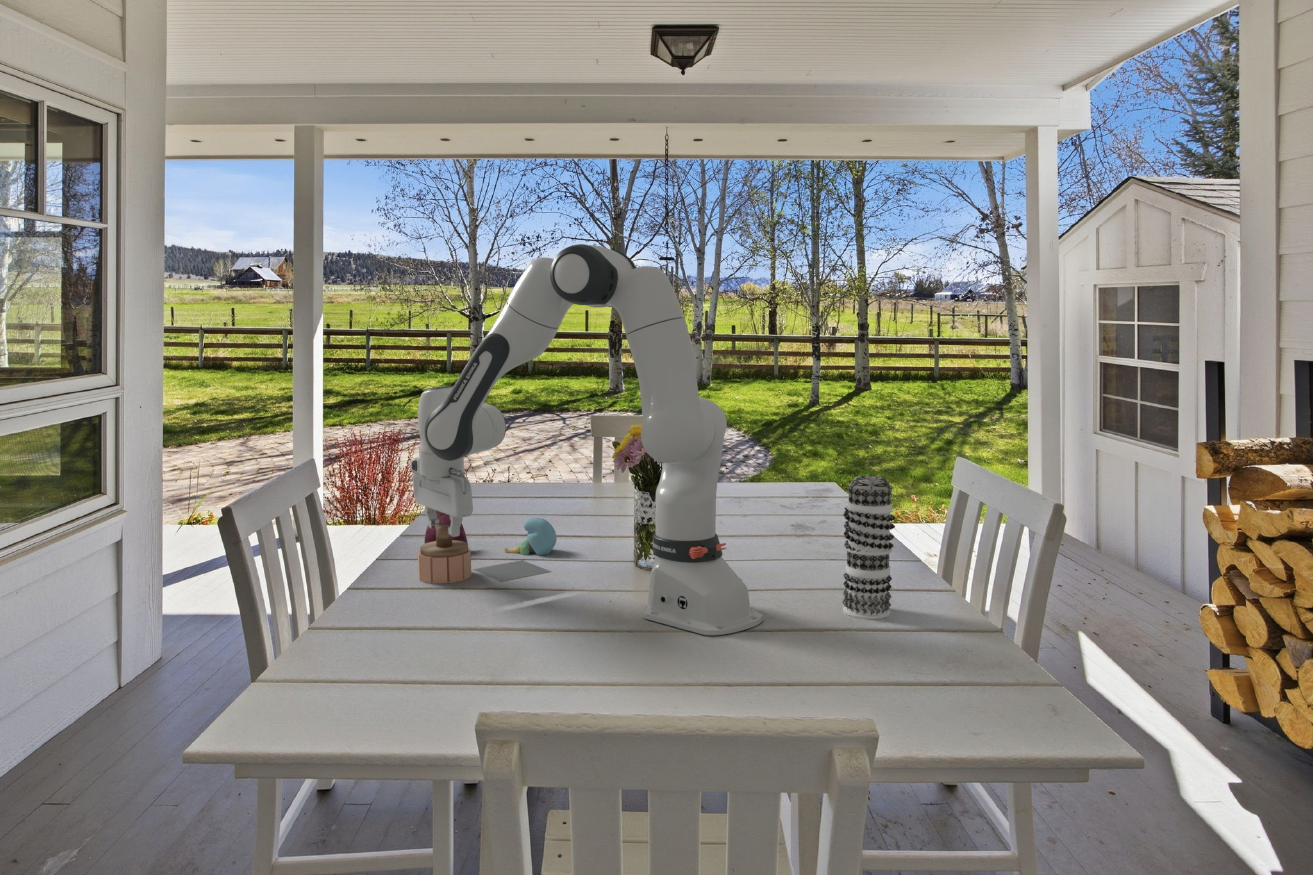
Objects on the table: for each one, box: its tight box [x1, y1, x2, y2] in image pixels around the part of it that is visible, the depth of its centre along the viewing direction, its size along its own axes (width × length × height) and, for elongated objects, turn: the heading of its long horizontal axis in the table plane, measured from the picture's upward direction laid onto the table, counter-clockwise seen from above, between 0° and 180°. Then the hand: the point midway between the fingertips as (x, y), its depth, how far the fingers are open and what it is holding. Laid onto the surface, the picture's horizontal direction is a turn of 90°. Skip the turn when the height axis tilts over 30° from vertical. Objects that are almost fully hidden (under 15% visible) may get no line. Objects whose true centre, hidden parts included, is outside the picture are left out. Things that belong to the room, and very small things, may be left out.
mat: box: [473, 560, 552, 583], centre depth 189 cm, size 12×12×1 cm
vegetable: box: [423, 510, 469, 544], centre depth 206 cm, size 10×10×15 cm
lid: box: [419, 525, 469, 557], centre depth 183 cm, size 10×10×5 cm
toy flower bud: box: [504, 517, 557, 556], centre depth 204 cm, size 7×9×12 cm
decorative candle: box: [842, 475, 896, 620], centre depth 162 cm, size 9×9×25 cm
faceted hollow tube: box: [417, 547, 472, 584], centre depth 184 cm, size 10×11×6 cm
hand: (443, 531), depth 183 cm, fingers open, 8 cm apart
